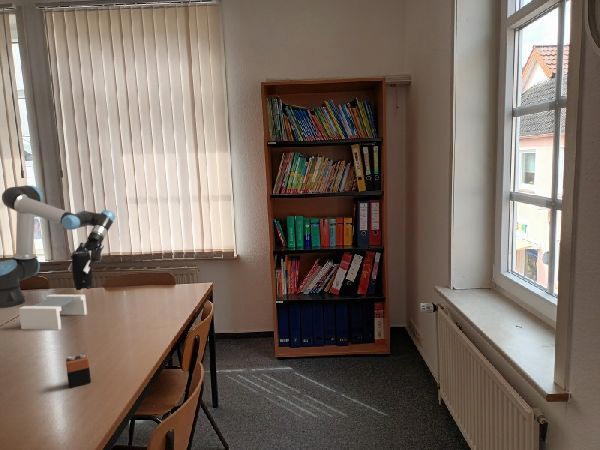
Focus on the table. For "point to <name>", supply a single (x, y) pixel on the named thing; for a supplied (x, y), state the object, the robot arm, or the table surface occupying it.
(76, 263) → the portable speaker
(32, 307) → the square spool
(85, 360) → the battery
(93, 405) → the table surface
